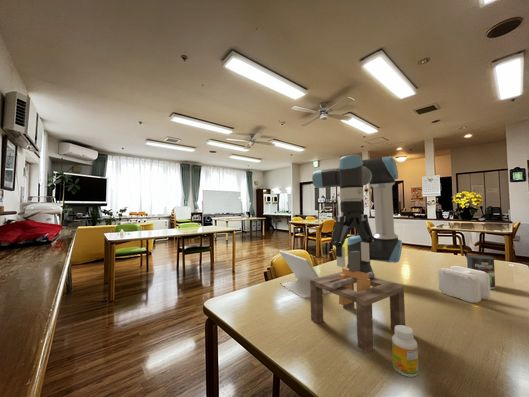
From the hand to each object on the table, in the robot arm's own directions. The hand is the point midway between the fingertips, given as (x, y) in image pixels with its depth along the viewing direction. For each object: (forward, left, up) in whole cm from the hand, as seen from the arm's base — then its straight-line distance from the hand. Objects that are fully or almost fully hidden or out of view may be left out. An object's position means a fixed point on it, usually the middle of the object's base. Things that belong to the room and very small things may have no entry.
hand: (353, 263), depth 78 cm
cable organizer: (+11, +58, -21) cm, 63 cm away
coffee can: (+10, +82, -21) cm, 85 cm away
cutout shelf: (0, 0, -20) cm, 20 cm away
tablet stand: (-38, +10, -21) cm, 44 cm away
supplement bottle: (+20, -8, -21) cm, 30 cm away
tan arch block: (0, 0, -14) cm, 14 cm away
